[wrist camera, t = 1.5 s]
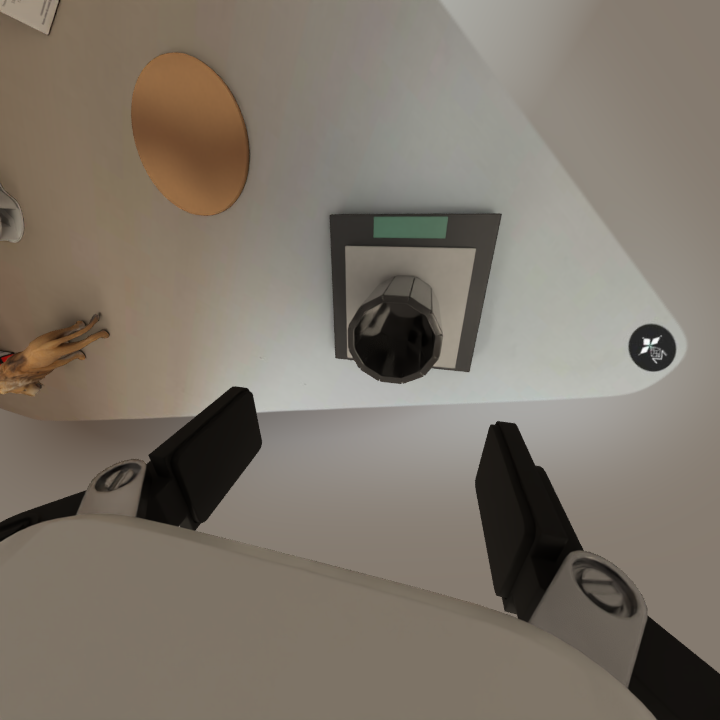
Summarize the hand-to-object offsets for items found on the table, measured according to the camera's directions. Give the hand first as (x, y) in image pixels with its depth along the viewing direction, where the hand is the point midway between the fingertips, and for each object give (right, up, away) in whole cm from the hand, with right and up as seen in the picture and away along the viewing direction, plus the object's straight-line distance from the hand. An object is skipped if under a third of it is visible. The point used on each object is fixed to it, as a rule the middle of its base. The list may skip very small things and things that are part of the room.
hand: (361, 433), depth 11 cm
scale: (+5, +9, +17) cm, 20 cm away
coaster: (-16, +23, +15) cm, 32 cm away
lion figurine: (-41, +5, +31) cm, 52 cm away
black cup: (+4, +7, +15) cm, 17 cm away
